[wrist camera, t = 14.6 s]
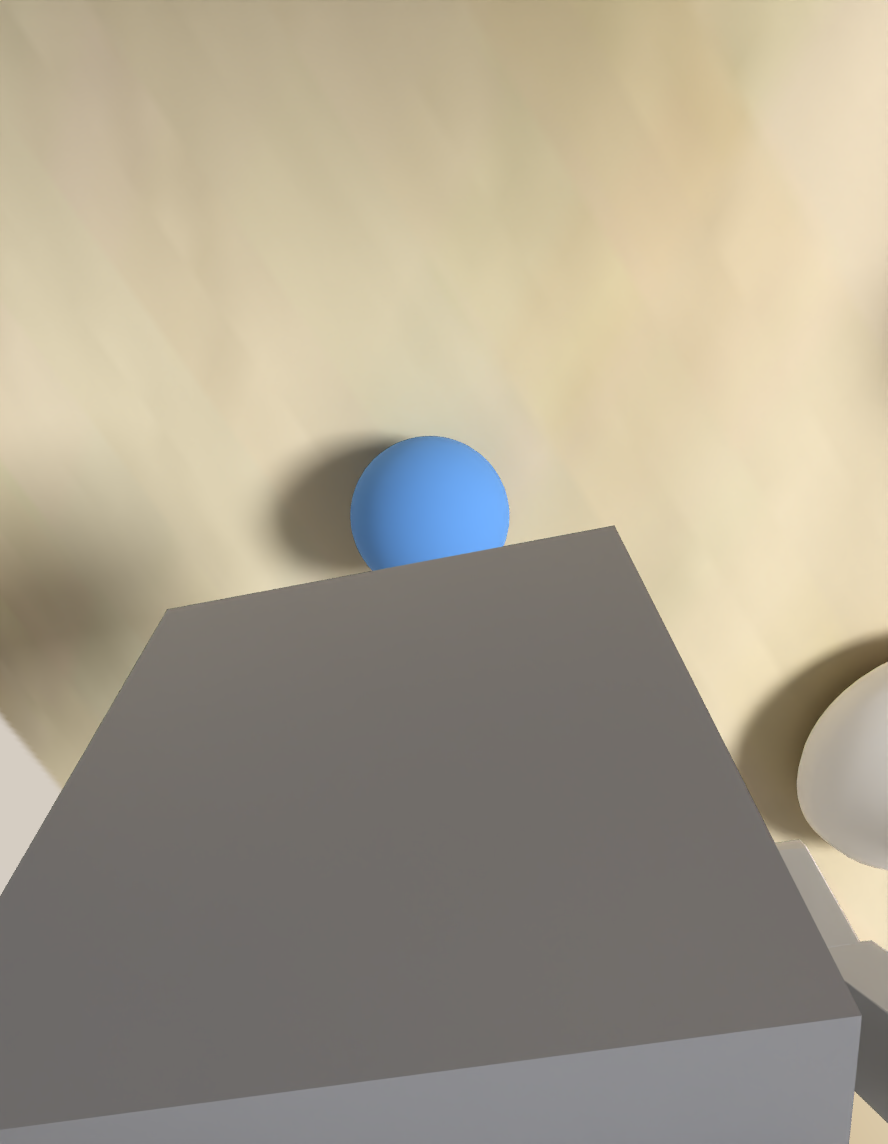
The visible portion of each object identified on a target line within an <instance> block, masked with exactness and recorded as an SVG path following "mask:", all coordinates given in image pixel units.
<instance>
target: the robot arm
mask: <svg viewBox="0 0 888 1144" xmlns="http://www.w3.org/2000/svg"><path fill="white" fill-rule="evenodd" d="M775 844H776V846H777V848H778V850H779V852H780V854H781V856H782V858H783V860H784V862H785V864H786V866H787V868H788V870H789V872H790V874H791V876H792V878H793V880H794V882H795V884H796V886H797V888H798V890H799V892H800V894H801V896H802V898H803V900H804V902H805V904H806V906H807V908H808V910H809V912H810V914H811V916H812V918H813V920H814V922H815V924H816V926H817V928H818V930H819V932H820V933H821V935H822V937H823V939H824V941H825V943H826V945H827V947H828V949H829V951H830V953H831V955H832V957H833V959H834V961H835V963H836V965H837V967H838V969H839V971H840V973H841V975H842V977H843V979H844V981H845V983H846V985H847V987H848V989H849V991H850V993H851V995H852V997H853V999H854V1001H855V1003H856V1005H857V1007H858V1009H859V1011H860V1013H861V1015H862V1020H861V1030H860V1040H859V1050H858V1059H857V1069H856V1079H855V1089H854V1091H855V1092H856V1093H857V1094H858V1095H859V1096H860V1097H862V1099H863V1100H865V1102H867V1103H868V1104H869V1105H870V1106H871V1107H872V1108H873V1109H874V1110H875V1111H876V1112H877V1113H878V1114H879V1115H880V1116H881V1117H882V1118H883V1119H884V1120H885V1121H886V1122H887V1123H888V951H886V950H885V949H883V948H882V947H880V946H879V945H878V944H876V943H875V942H873V941H862V942H860V940H859V939H858V937H857V935H856V933H855V932H854V930H853V928H852V926H851V924H850V923H849V921H848V919H847V917H846V916H845V914H844V912H843V910H842V909H841V907H840V905H839V903H838V901H837V900H836V898H835V896H834V894H833V893H832V891H831V889H830V887H829V885H828V884H827V882H826V880H825V878H824V877H823V875H822V873H821V871H820V870H819V868H818V866H817V864H816V862H815V861H814V859H813V857H812V855H811V854H810V852H809V850H808V848H807V847H806V845H805V844H804V843H803V842H802V841H800V840H799V839H798V840H791V841H784V842H778V843H775Z"/></svg>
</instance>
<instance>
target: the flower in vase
mask: <svg viewBox="0 0 888 1144" xmlns="http://www.w3.org/2000/svg"><path fill="white" fill-rule="evenodd" d="M797 796H798V800H799V804H800V808H801V810H802V812H803V815H804V817H805V819H806V820H807V822H808V823H809V825H810V826H811V827H812V829H813V830H814V831H815V832H816V833H817V834H818V835H819V836H820V837H821V838H822V839H824V840H825V841H826V842H828V843H829V844H830V845H832V846H833V847H834V848H836V849H837V850H838V851H840V852H841V853H843V854H844V855H846V856H847V857H849V858H851V859H853V860H855V861H857V862H859V863H862V864H865V865H868V866H871V867H875V868H879V869H884V870H888V662H886V663H884V664H882V665H880V666H878V667H877V668H875V669H873V670H872V671H870V672H869V673H867V674H865V675H864V676H862V677H861V678H859V679H858V680H857V681H855V682H854V683H853V684H852V685H850V686H849V687H848V688H847V689H845V690H844V691H843V692H842V693H841V694H840V695H839V696H838V697H837V698H836V699H835V700H834V701H833V702H832V703H831V704H830V705H829V707H828V708H827V709H826V710H825V711H824V713H823V714H822V715H821V716H820V718H819V719H818V721H817V723H816V724H815V726H814V727H813V729H812V730H811V733H810V735H809V737H808V739H807V741H806V743H805V746H804V750H803V753H802V757H801V760H800V764H799V768H798V776H797Z"/></svg>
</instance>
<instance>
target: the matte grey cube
mask: <svg viewBox="0 0 888 1144" xmlns="http://www.w3.org/2000/svg"><path fill="white" fill-rule="evenodd" d="M861 1020H862V1015H861V1013H860V1011H859V1009H858V1007H857V1005H856V1003H855V1001H854V999H853V997H852V995H851V993H850V991H849V989H848V987H847V985H846V983H845V981H844V979H843V977H842V975H841V973H840V971H839V969H838V967H837V965H836V963H835V961H834V959H833V957H832V955H831V953H830V951H829V949H828V947H827V945H826V943H825V941H824V939H823V937H822V935H821V933H820V932H819V930H818V928H817V926H816V924H815V922H814V920H813V918H812V916H811V914H810V912H809V910H808V908H807V906H806V904H805V902H804V900H803V898H802V896H801V894H800V892H799V890H798V888H797V886H796V884H795V882H794V880H793V878H792V876H791V874H790V872H789V870H788V868H787V866H786V864H785V862H784V860H783V858H782V856H781V854H780V852H779V850H778V848H777V846H776V844H775V842H774V840H773V839H772V837H771V835H770V833H769V831H768V829H767V827H766V825H765V823H764V821H763V819H762V817H761V815H760V813H759V811H758V809H757V807H756V805H755V803H754V801H753V799H752V797H751V795H750V793H749V791H748V789H747V787H746V785H745V783H744V781H743V779H742V777H741V775H740V773H739V771H738V769H737V767H736V765H735V763H734V761H733V759H732V757H731V755H730V753H729V751H728V749H727V747H726V746H725V744H724V742H723V740H722V738H721V736H720V734H719V732H718V730H717V728H716V726H715V724H714V722H713V720H712V718H711V716H710V714H709V712H708V710H707V708H706V706H705V704H704V702H703V700H702V698H701V696H700V694H699V692H698V690H697V688H696V686H695V684H694V682H693V680H692V678H691V676H690V674H689V672H688V670H687V668H686V666H685V664H684V662H683V660H682V658H681V656H680V654H679V653H678V651H677V649H676V647H675V645H674V643H673V641H672V639H671V637H670V635H669V633H668V631H667V629H666V627H665V625H664V623H663V621H662V619H661V617H660V615H659V613H658V611H657V609H656V607H655V605H654V603H653V601H652V599H651V597H650V595H649V593H648V591H647V589H646V587H645V585H644V583H643V581H642V579H641V577H640V575H639V573H638V571H637V569H636V567H635V565H634V563H633V561H632V560H631V558H630V556H629V554H628V552H627V550H626V548H625V546H624V544H623V542H622V540H621V538H620V536H619V534H618V532H617V530H616V528H615V526H609V527H604V528H598V529H593V530H588V531H582V532H577V533H572V534H566V535H561V536H556V537H550V538H545V539H540V540H534V541H529V542H524V543H519V544H513V545H508V546H503V547H497V548H492V549H487V550H481V551H476V552H471V553H465V554H460V555H455V556H449V557H444V558H439V559H433V560H428V561H423V562H417V563H412V564H407V565H401V566H396V567H391V568H385V569H380V570H375V571H369V572H364V573H359V574H353V575H348V576H343V577H337V578H332V579H327V580H321V581H316V582H311V583H305V584H300V585H295V586H289V587H284V588H279V589H273V590H268V591H263V592H257V593H252V594H247V595H241V596H236V597H231V598H225V599H220V600H215V601H209V602H204V603H199V604H193V605H188V606H183V607H177V608H172V609H167V611H166V612H165V614H164V616H163V618H162V619H161V621H160V623H159V624H158V626H157V628H156V630H155V631H154V633H153V635H152V636H151V638H150V640H149V642H148V643H147V645H146V647H145V648H144V650H143V652H142V654H141V655H140V657H139V659H138V660H137V662H136V664H135V666H134V667H133V669H132V671H131V673H130V674H129V676H128V678H127V679H126V681H125V683H124V685H123V686H122V688H121V690H120V691H119V693H118V695H117V697H116V698H115V700H114V702H113V703H112V705H111V707H110V709H109V710H108V712H107V714H106V715H105V717H104V719H103V721H102V722H101V724H100V726H99V727H98V729H97V731H96V733H95V734H94V736H93V738H92V739H91V741H90V743H89V745H88V746H87V748H86V750H85V752H84V753H83V755H82V757H81V758H80V760H79V762H78V764H77V765H76V767H75V769H74V770H73V772H72V774H71V776H70V777H69V779H68V781H67V782H66V784H65V786H64V788H63V789H62V791H61V793H60V794H59V796H58V798H57V800H56V801H55V803H54V805H53V806H52V808H51V810H50V812H49V813H48V815H47V817H46V818H45V820H44V822H43V824H42V826H41V827H40V829H39V831H38V832H37V834H36V836H35V837H34V839H33V841H32V843H31V844H30V846H29V848H28V850H27V851H26V853H25V855H24V856H23V858H22V860H21V861H20V863H19V865H18V867H17V868H16V870H15V872H14V873H13V875H12V877H11V879H10V880H9V882H8V884H7V885H6V887H5V889H4V891H3V892H2V894H1V896H0V1144H849V1137H850V1128H851V1118H852V1108H853V1099H854V1089H855V1079H856V1069H857V1059H858V1050H859V1040H860V1030H861Z"/></svg>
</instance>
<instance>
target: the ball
mask: <svg viewBox="0 0 888 1144" xmlns="http://www.w3.org/2000/svg"><path fill="white" fill-rule="evenodd" d="M350 520H351V529H352V534H353V537H354V541H355V544H356V547H357V549H358V551H359V553H360V555H361V556H362V558H363V560H364V561H365V562H366V564H367V565H368V566H369V568H370V569H371V570H372V571H375V570H380V569H385V568H391V567H396V566H401V565H407V564H412V563H417V562H423V561H428V560H433V559H439V558H444V557H449V556H455V555H460V554H465V553H471V552H476V551H481V550H487V549H492V548H497V547H503V546H504V543H505V540H506V536H507V532H508V527H509V505H508V499H507V495H506V492H505V488H504V486H503V484H502V482H501V480H500V478H499V476H498V474H497V473H496V471H495V470H494V468H493V467H492V466H491V464H490V463H489V462H488V461H487V460H486V459H485V458H484V457H483V456H482V455H481V454H479V453H478V452H477V451H475V450H474V449H472V448H471V447H469V446H467V445H465V444H463V443H461V442H458V441H456V440H453V439H449V438H445V437H438V436H422V437H415V438H411V439H407V440H404V441H401V442H398V443H396V444H394V445H392V446H390V447H389V448H387V449H386V450H384V451H383V452H382V453H380V454H379V455H378V456H377V457H376V458H374V459H373V461H372V462H371V463H370V464H369V465H368V466H367V468H366V469H365V470H364V472H363V474H362V475H361V477H360V479H359V480H358V483H357V485H356V488H355V491H354V493H353V497H352V503H351V510H350Z"/></svg>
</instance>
